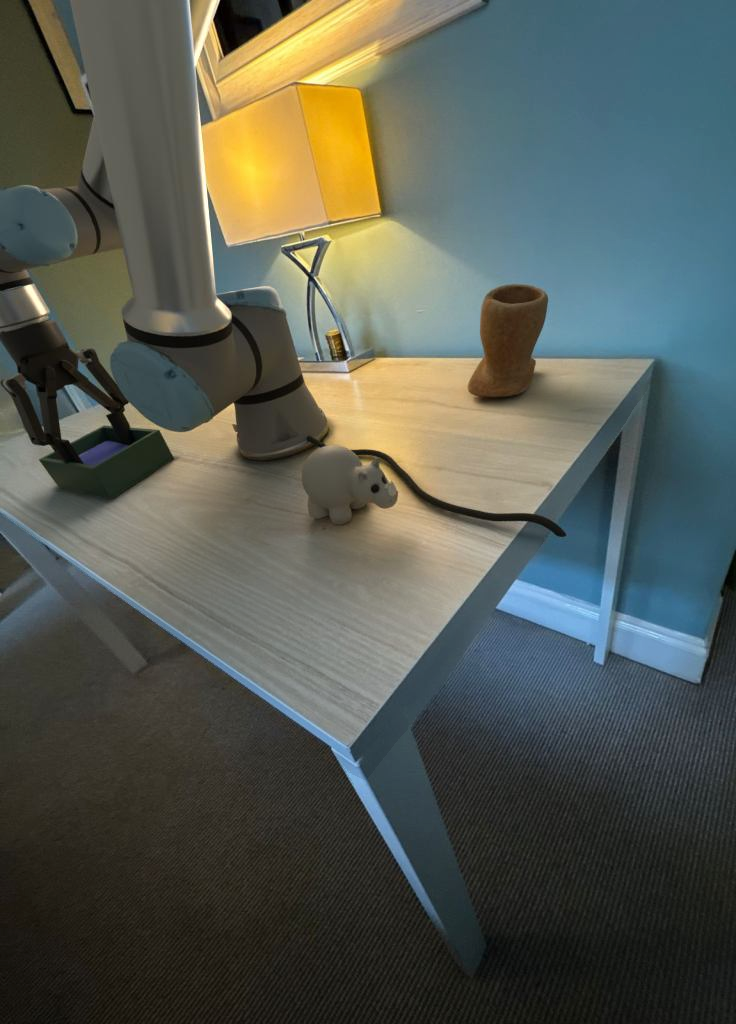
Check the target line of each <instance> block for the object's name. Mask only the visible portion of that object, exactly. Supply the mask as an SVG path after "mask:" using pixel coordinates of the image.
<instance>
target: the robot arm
mask: <svg viewBox="0 0 736 1024" xmlns="http://www.w3.org/2000/svg"><path fill="white" fill-rule="evenodd" d="M220 1H221V0H69V3H70V7H71V13H72V17H73V21H74V26H75V32H76V35H77V39H78V45H79V49H80V55H81V59H82V64H83V68H84V72H85V73H84V74H85V76H86V77H85V79H86V81H87V86H88V87H87V88H88V92H89V96H90V100H91V105H92V110H93V118H92V119H93V120H92V122H91V127H90V131H89V135H88V140H87V144H86V149H85V154H84V158H83V161H82V165H81V170H80V173H79V177H78V182H77V184H76V185H73V186H72V185H71V186H65V187H64V186H63V187H54V188H40V187H37V186H34V185H30V184H22V185H21V184H20V185H17V186H14V187H13V186H12V187H4V188H1V189H0V342H1V344H2V346H3V347H4V348H5V350H6V352H7V353H8V355H9V356H10V357H11V359H12V360H13V362H14V364H15V365H16V368H17V373H16V374H14V375H13V376H11V377H9V378H3V379H1V380H0V386H1V387H2V388H3V389H4V390H5V391H6V392H7V393H8V395H9V396H10V397H11V399H12V402H13V404H14V406H15V409H16V411H17V414H18V415H19V417H20V420H21V422H22V424H23V427H24V429H25V431H26V433H27V435H28V438H29V440H30V442H31V444H32V445H34V446H40V447H46V446H50V447H51V449H52V450H53V452H54V451H55V453H56V454H57V456H58V457H59V459H60V460H61V461H63V462H67V463H68V462H74V463H80V464H84V463H83V462H82V460H81V459H80V457H79V456H78V454H77V453H76V451H75V449H74V448H73V446H72V445H71V442H70V440H69V439H65V438H64V439H62V432H61V426H60V419H59V411H58V403H57V398H58V391H59V390H62V389H63V388H65V386H72V385H73V386H75V387H77V388H78V389H80V391H82V392H83V393H85V395H87V396H88V397H90V398H91V399H92V400H94V401H95V402H96V403H97V404H99V406H101V407H103V408H104V409H105V410H106V411H108V412H109V413H108V414H106V415H105V417H106V418H107V420H108V422H109V424H110V426H112V427H113V429H114V430H115V432H116V434H117V436H118V437H119V439H120V441H121V443H122V444H125V445H131V444H133V443H134V441H133V439H132V437H131V435H130V434H129V432H128V429H130V427H131V425H130V423H129V421H128V419H127V417H126V415H125V413H124V412H125V411H126V408H125V406H126V405H128V404H130V405H131V406H132V407H133V408H135V410H136V411H137V412H138V413H139V414H141V415H142V416H143V417H144V418H145V419H147V420H148V421H149V422H151V423H152V424H154V425H156V426H157V427H160V428H162V429H164V430H167V431H170V432H173V433H174V432H175V433H186V432H190V431H193V430H194V429H196V428H198V427H200V426H202V425H204V424H207V423H209V422H211V420H213V419H214V417H215V416H217V415H218V414H220V413H222V412H223V411H224V410H226V409H227V408H228V407H230V406H231V405H233V406H234V413H235V424H234V423H231V425H232V428H233V430H234V432H235V433H236V443H237V445H238V446H237V447H238V448H239V452H240V453H241V455H242V456H243V457H245V458H246V459H249V460H254V461H272V460H273V461H274V460H278V459H283V458H287V457H291V456H294V455H296V454H297V455H298V454H299V453H302V452H304V451H306V450H308V449H310V448H312V447H314V446H315V447H318V448H321V447H324V446H327V445H326V443H324V442H322V441H321V440H323V439H324V438H325V437H326V435H327V434H328V432H329V429H330V427H329V422H328V419H327V418H328V417H327V416H326V414H325V412H324V411H323V409H322V408H321V407H319V405H318V403H317V401H316V400H315V397H313V394H312V393H311V391H310V390H309V388H308V386H307V384H306V382H305V379H304V375H303V372H302V367H301V364H300V360H299V357H298V353H297V350H296V346H295V343H294V339H293V337H292V332H291V329H290V326H289V323H288V318H287V312H286V309H284V306H283V303H282V301H281V297H280V295H279V293H278V291H277V290H276V289H275V288H273V287H272V286H268V285H262V286H257V287H250V288H244V289H239V290H232V291H226V292H219V293H217V289H216V288H217V287H216V279H215V267H214V256H213V255H214V254H213V246H212V245H213V244H212V235H211V234H212V233H211V224H210V223H211V222H210V212H209V200H208V191H207V190H208V189H207V180H206V179H207V178H206V168H205V156H204V147H203V146H204V145H203V136H202V135H203V133H202V126H201V125H202V124H201V114H200V113H201V112H200V103H199V91H198V82H197V81H198V79H197V71H196V70H197V69H196V67H197V64H198V61H199V58H200V55H201V53H202V50H203V47H204V45H205V42H206V39H207V37H208V34H209V31H210V28H211V26H212V23H213V20H214V17H215V15H216V13H217V9H218V6H219V4H220ZM120 249H122V251H123V254H124V259H125V263H126V267H127V269H126V270H127V273H128V278H129V282H130V288H131V292H132V295H131V297H130V298H129V299H128V300H127V301H126V302H125V303H124V304H123V306H122V308H121V317H122V322H123V325H124V330H125V335H126V340H127V341H123V342H119V343H117V345H116V347H115V348H113V351H112V353H110V357H109V366H110V371H111V375H112V376H111V375H110V374H109V372H108V371H107V369H105V367H104V365H103V364H102V363H101V362H100V359H99V356H98V354H97V351H96V350H95V349H93V348H85V349H84V348H82V349H80V350H79V351H75V350H74V349H72V348H71V346H69V345H70V344H69V343H68V341H67V338H66V336H65V335H64V333H63V331H62V330H61V328H60V326H59V324H58V322H57V321H56V319H53V318H49V316H48V315H50V314H51V310H50V308H49V307H48V305H47V304H46V302H45V300H44V299H43V297H42V295H41V293H40V292H39V290H38V288H37V286H36V284H35V283H34V280H33V279H32V278H31V276H30V275H29V272H28V271H27V270H30V269H35V268H40V267H49V266H51V265H55V264H59V263H62V262H66V261H70V260H71V261H72V260H74V259H75V260H76V259H80V258H83V257H88V256H91V255H95V254H100V253H105V252H110V251H115V250H120ZM79 362H80V363H81V364H82V365H84V366H85V367H86V369H87V370H88V372H89V373H90V374H91V375H92V376H93V378H94V379H95V380H96V381H97V382H98V384H99V385H100V386H101V387H102V388H103V390H104V391H105V392H106V393H107V394H106V393H105V392H104V391H103V390H101V389H100V388H99V387H98V386H97V385H95V384H94V383H93V382H92V381H91V380H90V379H89V378H88V377H87V376H86V375H85V374H84V373H82V372H81V371H79ZM26 382H29V383H30V384H33V385H34V386H35V391H36V396H37V398H38V401H39V406H40V414H41V421H42V424H41V422H40V419H39V417H38V414H37V412H36V410H35V408H34V405H33V403H32V401H31V398H30V396H29V394H28V392H27V391H26V390H27V385H26ZM350 450H351V451H352V452H354V453H355V454H356V455H357V456H372V457H375V458H376V457H378V458H379V459H381V460H383V461H385V463H387V464H388V465H389V466H390V468H392V470H394V472H395V473H396V474H397V475H398V476H399V477H400V478H402V480H403V481H404V482H405V483H406V484H407V486H408V487H409V488H410V489H411V490H412V491H413V493H414V494H415V495H417V496H418V498H420V499H422V500H423V501H425V502H426V503H428V504H430V505H431V506H434V507H436V508H438V509H441V510H443V511H447V512H450V513H453V514H457V515H461V516H465V517H469V518H474V519H478V520H483V521H488V522H527V523H533V524H536V525H540V526H542V527H544V528H546V529H548V530H549V531H550V532H552V533H553V534H554V535H555V536H556V537H558V538H564V537H566V536H567V533H566V531H565V530H564V529H562V528H561V526H560V525H558V524H557V523H556V522H554V521H553V520H551V519H550V518H547V517H545V516H543V515H539V514H536V513H529V512H509V513H507V512H506V513H498V512H497V513H496V512H487V511H482V510H477V509H473V508H468V507H464V506H460V505H456V504H452V503H449V502H446V501H444V500H442V499H439V498H436V497H434V496H432V495H431V494H429V493H427V492H426V491H424V490H423V489H422V488H421V487H420V486H419V485H418V483H416V482H415V481H414V480H413V478H412V477H411V475H409V473H407V472H406V471H405V470H404V469H403V468H402V467H401V466H400V465H399V464H398V463H397V462H396V461H395V460H394V459H393V458H392V457H391V456H389V454H387V453H384V452H382V451H379V450H376V449H369V448H368V449H367V448H362V449H361V448H359V449H350Z"/></svg>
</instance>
